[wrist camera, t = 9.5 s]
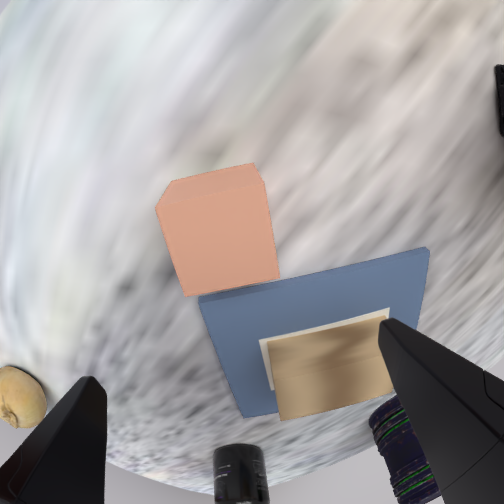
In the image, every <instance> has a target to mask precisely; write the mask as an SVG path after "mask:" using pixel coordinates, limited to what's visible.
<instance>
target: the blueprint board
mask: <svg viewBox="0 0 504 504" xmlns="http://www.w3.org/2000/svg"><path fill="white" fill-rule="evenodd" d="M429 255H430V251H429V250H428V249H427V248H426V247H422V248H418V249H414V250H410V251H406V252H402V253H398V254H394V255H390V256H386V257H382V258H378V259H374V260H370V261H365V262H361V263H357V264H353V265H348V266H344V267H340V268H335V269H331V270H327V271H322V272H318V273H313V274H309V275H304V276H300V277H295V278H290V279H286V280H281V281H276V282H272V283H267V284H262V285H257V286H252V287H247V288H242V289H237V290H232V291H227V292H222V293H217V294H212V295H207V296H201V297H199V302H198V304H199V307H200V310H201V312H202V315H203V318H204V321H205V323H206V326H207V329H208V331H209V334H210V337H211V339H212V342H213V345H214V347H215V350H216V352H217V355H218V357H219V360H220V363H221V365H222V368H223V370H224V373H225V375H226V377H227V380H228V382H229V385H230V387H231V390H232V392H233V394H234V397H235V399H236V402H237V404H238V406H239V409H240V411H241V413H242V415H243V418H249V417H255V416H261V415H267V414H272V413H277V412H279V410H278V405H277V399H276V394H275V389H274V383H273V377H272V371H271V365H270V359H269V352H268V346H267V341H272V340H277V339H282V338H288V337H293V336H298V335H303V334H308V333H312V332H317V331H322V330H326V329H331V328H335V327H339V326H344V325H348V324H352V323H356V322H360V321H364V320H368V319H372V318H376V317H379V316H383V315H385V316H386V318H387V319H388V318H391V317H393V318H396V319H397V320H399V321H401V322H403V323H404V324H406V325H408V326H410V327H411V328H413V329H415V330H416V328H417V324H418V319H419V315H420V310H421V305H422V300H423V294H424V289H425V283H426V276H427V270H428V263H429Z"/></svg>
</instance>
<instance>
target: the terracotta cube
mask: <svg viewBox="0 0 504 504" xmlns="http://www.w3.org/2000/svg"><path fill="white" fill-rule="evenodd" d="M155 210H156V213H157V216H158V219H159V222H160V226H161V229H162V232H163V235H164V238H165V241H166V244H167V247H168V250H169V253H170V256H171V259H172V262H173V264H174V267H175V270H176V273H177V276H178V279H179V281H180V284H181V287H182V290H183V292H184V295H185V297H188V296H193V295H198V294H204V293H209V292H214V291H219V290H224V289H229V288H234V287H239V286H244V285H249V284H254V283H259V282H263V281H268V280H273V279H278V278H280V274H279V268H278V261H277V255H276V249H275V243H274V237H273V231H272V225H271V219H270V213H269V207H268V202H267V196H266V190H265V184H264V182H263V180H262V178H261V176H260V174H259V173H258V171H257V169H256V167H255V165H254V163H249V164H244V165H239V166H234V167H230V168H225V169H220V170H216V171H211V172H207V173H202V174H198V175H194V176H190V177H186V178H182V179H178V180H174V181H171V183H170V184H169V186H168V187H167V189H166V190H165V192H164V194H163V195H162V197H161V199H160V200H159V202H158V203H157V205H156V207H155Z"/></svg>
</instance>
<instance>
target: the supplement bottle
mask: <svg viewBox="0 0 504 504" xmlns="http://www.w3.org/2000/svg"><path fill="white" fill-rule="evenodd" d="M213 471H214V497H215V504H270V499H269V491H268V484H267V476H266V469H265V461H264V454H263V452H262V450H261V449H260V448H258V447H256V446H252V445H245V444H236V445H228V446H224V447H221V448H219V449H217V450H216V451H215V453H214V455H213Z"/></svg>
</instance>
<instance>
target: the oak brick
mask: <svg viewBox="0 0 504 504" xmlns="http://www.w3.org/2000/svg"><path fill="white" fill-rule="evenodd" d="M385 319H387V318H386V316H385V315H383V316H379V317H376V318H372V319H368V320H364V321H360V322H356V323H352V324H348V325H344V326H339V327H335V328H331V329H326V330H322V331H317V332H312V333H308V334H303V335H298V336H293V337H288V338H282V339H277V340H272V341H267V346H268V352H269V359H270V365H271V371H272V377H273V383H274V389H275V394H276V399H277V405H278V410H279V415H280V420H281V421H284V420H289V419H294V418H299V417H304V416H309V415H313V414H318V413H322V412H326V411H330V410H334V409H338V408H342V407H345V406H349V405H353V404H356V403H359V402H363V401H366V400H369V399H373V398H376V397H379V396H382V395H385V394H388V393H391V392H392V389H393V384H392V382H391V379H390V376H389V373H388V370H387V368H386V365H385V362H384V359H383V357H382V354H381V351H380V349H379V346H378V333H379V324H380V322H381V321H382V320H385Z"/></svg>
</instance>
